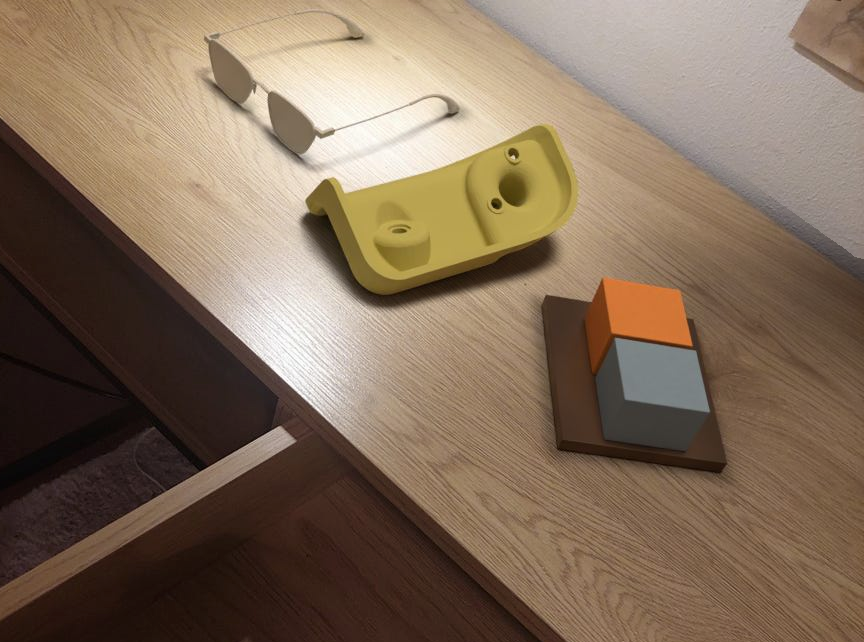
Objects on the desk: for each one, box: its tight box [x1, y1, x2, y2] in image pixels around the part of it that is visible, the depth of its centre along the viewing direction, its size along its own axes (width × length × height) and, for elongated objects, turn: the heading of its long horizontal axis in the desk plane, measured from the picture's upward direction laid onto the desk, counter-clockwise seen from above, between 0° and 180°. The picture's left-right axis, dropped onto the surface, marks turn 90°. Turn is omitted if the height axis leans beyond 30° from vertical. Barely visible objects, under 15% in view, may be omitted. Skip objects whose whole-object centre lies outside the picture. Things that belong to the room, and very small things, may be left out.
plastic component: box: [304, 123, 579, 296], centre depth 83 cm, size 20×7×10 cm
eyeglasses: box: [203, 8, 461, 155], centre depth 92 cm, size 15×18×4 cm
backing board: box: [541, 294, 728, 473], centre depth 78 cm, size 12×15×1 cm
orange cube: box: [584, 276, 693, 375], centre depth 78 cm, size 6×6×4 cm
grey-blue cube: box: [595, 338, 710, 451], centre depth 74 cm, size 6×6×4 cm
